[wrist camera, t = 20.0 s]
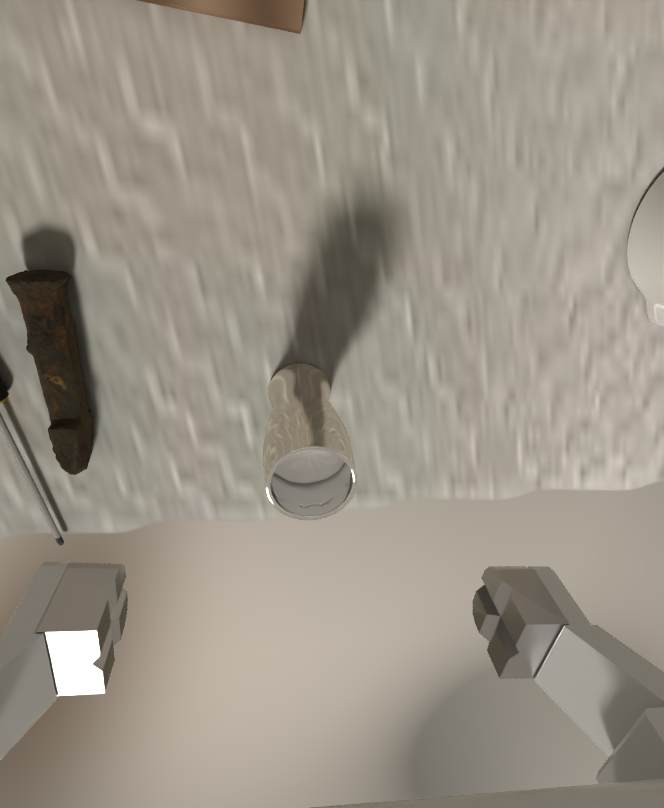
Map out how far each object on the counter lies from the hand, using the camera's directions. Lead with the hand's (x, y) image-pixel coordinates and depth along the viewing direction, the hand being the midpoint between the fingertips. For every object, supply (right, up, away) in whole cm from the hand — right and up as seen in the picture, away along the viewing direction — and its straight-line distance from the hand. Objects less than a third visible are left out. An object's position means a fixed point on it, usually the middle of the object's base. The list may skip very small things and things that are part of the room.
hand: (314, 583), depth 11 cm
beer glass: (-3, +5, +36) cm, 36 cm away
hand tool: (-23, +7, +33) cm, 41 cm away
